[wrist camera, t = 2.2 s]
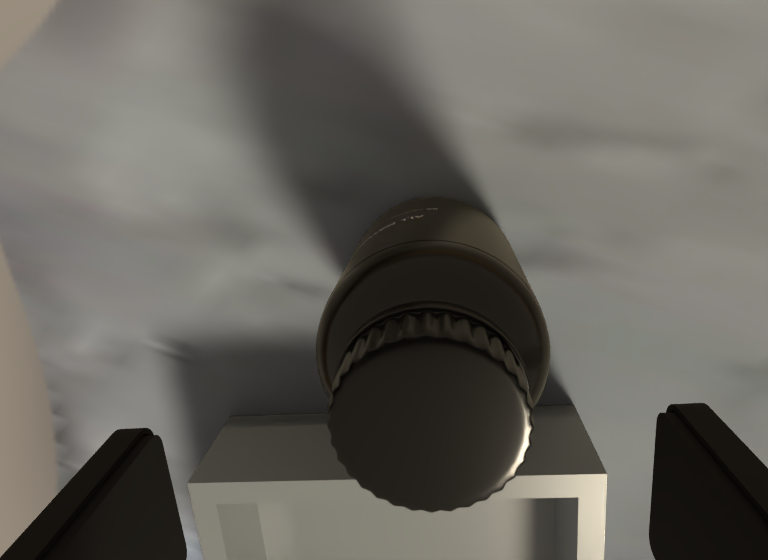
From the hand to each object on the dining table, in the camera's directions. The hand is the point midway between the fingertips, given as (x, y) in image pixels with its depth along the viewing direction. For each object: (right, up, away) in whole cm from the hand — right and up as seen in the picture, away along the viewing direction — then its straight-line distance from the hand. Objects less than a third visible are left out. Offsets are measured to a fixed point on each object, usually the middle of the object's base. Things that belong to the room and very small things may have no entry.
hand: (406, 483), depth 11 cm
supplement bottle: (+2, +4, +14) cm, 14 cm away
